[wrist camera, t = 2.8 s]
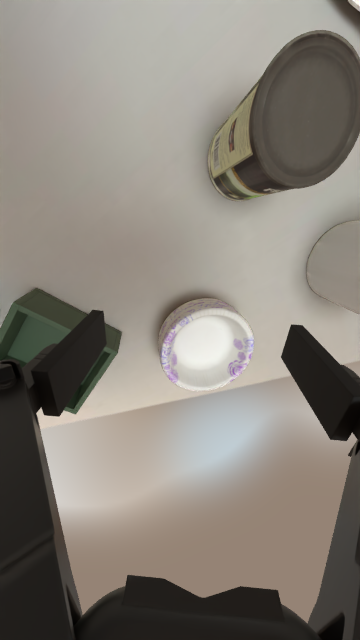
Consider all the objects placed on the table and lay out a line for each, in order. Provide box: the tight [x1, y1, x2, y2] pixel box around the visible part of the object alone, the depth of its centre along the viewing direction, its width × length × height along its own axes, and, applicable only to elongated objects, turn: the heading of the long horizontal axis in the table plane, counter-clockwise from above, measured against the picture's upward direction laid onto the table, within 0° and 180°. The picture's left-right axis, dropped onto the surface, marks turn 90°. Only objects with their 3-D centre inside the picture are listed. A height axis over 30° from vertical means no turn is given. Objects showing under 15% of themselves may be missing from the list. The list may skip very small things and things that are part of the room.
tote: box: [0, 288, 122, 414], centre depth 35 cm, size 15×14×7 cm
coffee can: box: [208, 30, 360, 201], centre depth 25 cm, size 10×10×14 cm
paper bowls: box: [158, 298, 254, 391], centre depth 38 cm, size 15×15×8 cm
